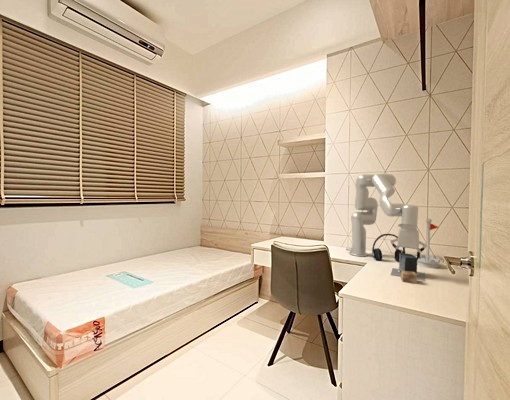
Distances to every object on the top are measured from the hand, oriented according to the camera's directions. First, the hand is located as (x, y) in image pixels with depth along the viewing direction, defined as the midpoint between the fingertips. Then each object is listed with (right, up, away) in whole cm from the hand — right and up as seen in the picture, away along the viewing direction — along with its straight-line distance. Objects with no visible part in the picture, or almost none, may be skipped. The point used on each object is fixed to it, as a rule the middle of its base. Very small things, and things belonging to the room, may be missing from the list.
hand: (407, 257), depth 141 cm
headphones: (+5, -9, +30) cm, 31 cm away
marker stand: (+25, -10, +19) cm, 33 cm away
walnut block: (-6, -10, -12) cm, 17 cm away
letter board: (0, -10, 0) cm, 10 cm away
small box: (0, -9, 0) cm, 9 cm away
